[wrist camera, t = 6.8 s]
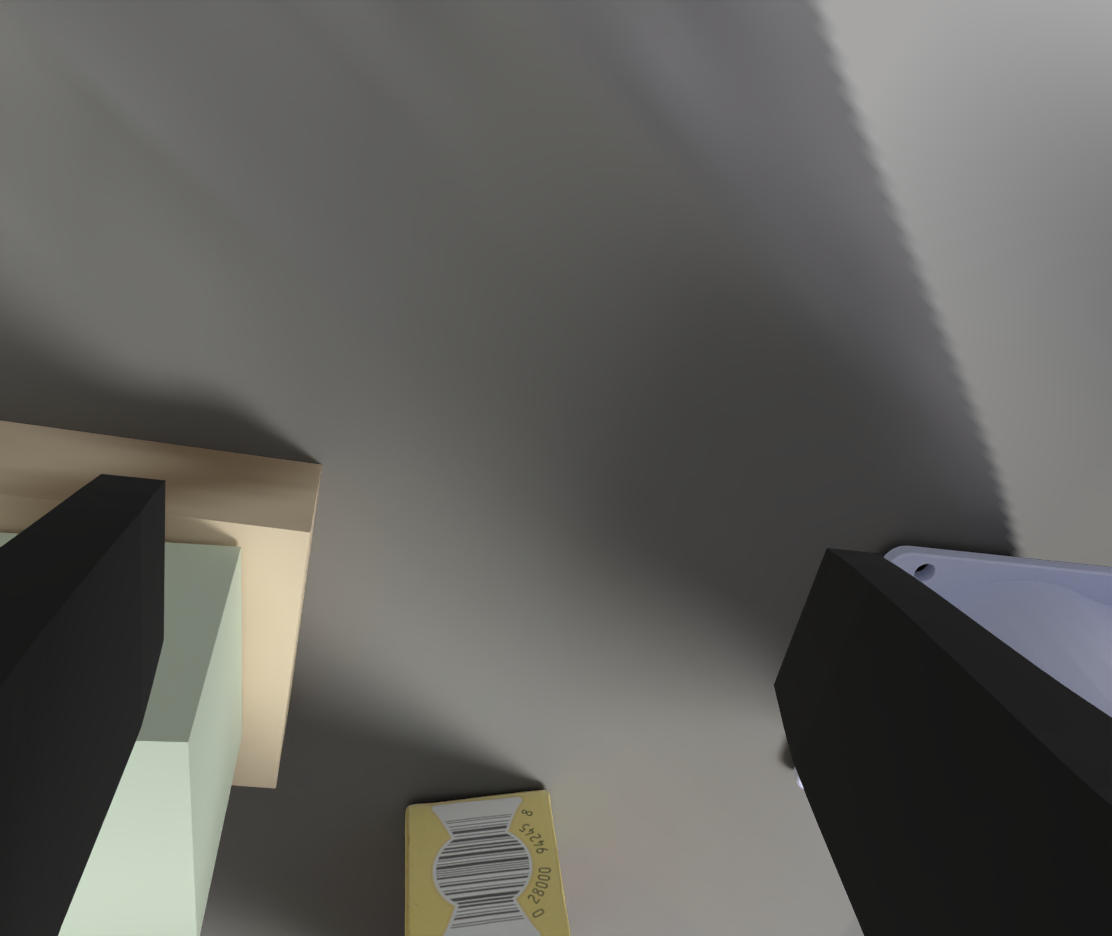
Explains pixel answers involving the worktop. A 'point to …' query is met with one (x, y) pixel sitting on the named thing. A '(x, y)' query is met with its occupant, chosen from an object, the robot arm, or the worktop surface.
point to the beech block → (198, 518)
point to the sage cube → (173, 763)
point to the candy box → (483, 868)
